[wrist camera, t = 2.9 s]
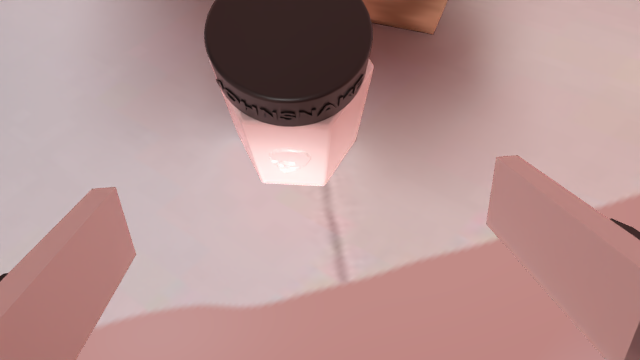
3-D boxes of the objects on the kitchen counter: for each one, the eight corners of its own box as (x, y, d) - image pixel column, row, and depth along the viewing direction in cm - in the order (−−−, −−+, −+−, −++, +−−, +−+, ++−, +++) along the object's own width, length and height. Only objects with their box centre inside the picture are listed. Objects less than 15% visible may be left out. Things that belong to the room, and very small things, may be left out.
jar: (231, 185, 29) (180, 97, 17) (244, 88, 31) (206, -42, 20) (354, 191, 29) (383, 107, 17) (356, 94, 32) (382, -33, 20)
